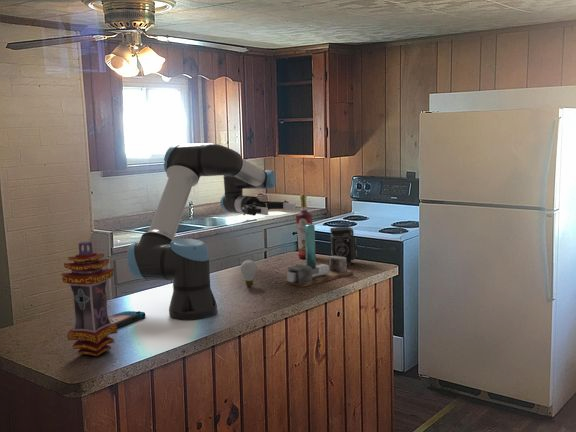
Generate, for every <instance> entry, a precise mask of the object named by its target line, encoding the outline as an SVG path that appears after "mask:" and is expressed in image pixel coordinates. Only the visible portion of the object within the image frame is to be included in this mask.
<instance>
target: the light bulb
mask: <svg viewBox="0 0 576 432" xmlns="http://www.w3.org/2000/svg"><path fill="white" fill-rule="evenodd" d="M257 270H258V266H257V264H256V262H254V261H253V260H251V259H246V260H245V261H243V262H242V263H241V265H240V272H241V273H242V275H243V276H244V277H243V278H244V280H245V285H246V286H247V287H248V288H251V287H252V286H253V285H254V279H255V278H254V277H255V275H256V273H257Z"/></svg>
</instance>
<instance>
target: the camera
mask: <svg viewBox="0 0 576 432" xmlns="http://www.w3.org/2000/svg"><path fill="white" fill-rule="evenodd" d="M329 231H330V256H340V257H346V258H347V265H348V266H351V265H352V261H355V260H356V258H357V257H358V246H357V238H356V237H355V236H354V235H355V234H354V233H355V232H354V229H353V227H351V226H342V227H341V226H339V227H331V228H330V230H329Z"/></svg>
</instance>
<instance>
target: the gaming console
mask: <svg viewBox="0 0 576 432" xmlns="http://www.w3.org/2000/svg"><path fill="white" fill-rule="evenodd" d="M108 317H109V320H110V322H111V323H112V324H116V325H117V329H118V328H120V327H123V326H126V325H129V324H131V323H134V322H136V321H139V320H143V319H145V318H146V313H145V312H144V311H141V310H140V311H139V310H138V311H131V310H126V311H122V312H118V313H115V314H112V315H108Z"/></svg>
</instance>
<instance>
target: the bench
mask: <svg viewBox="0 0 576 432" xmlns="http://www.w3.org/2000/svg"><path fill="white" fill-rule="evenodd" d="M328 257H329V258H328V260H329V262H328V263H329V264H328V265H329V273H328V274H324V275H320V276H316V277H312V267H310V266H306V265H305V264H296V265H292V266H288V267H287V272H290V271H298V281H296V282H290V281H287V279H286V284H290V285H294V286H298V287H301V288H303V287H307V286H311V285H315V284H319V283H323V282H327V281H330V280H335V279H338V278H343V277H347V276H349V275H353V274H354V273H353V272H354V271H353V270H348V264H347V258H346V257H340V256H331V255H330V256H328Z"/></svg>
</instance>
